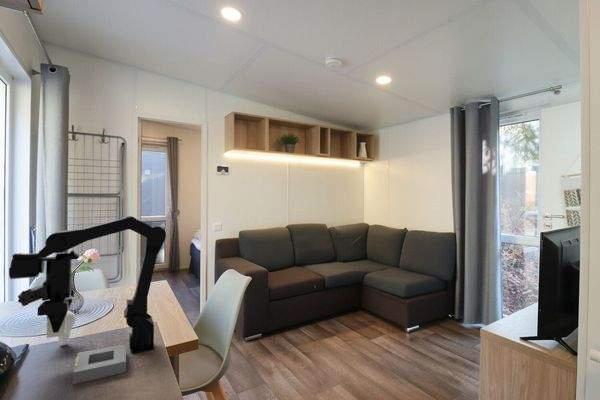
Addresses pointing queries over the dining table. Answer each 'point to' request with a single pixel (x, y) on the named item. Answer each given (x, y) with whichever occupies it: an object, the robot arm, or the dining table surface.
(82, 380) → the socket
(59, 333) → the plug
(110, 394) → the dining table surface
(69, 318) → the lightbulb
